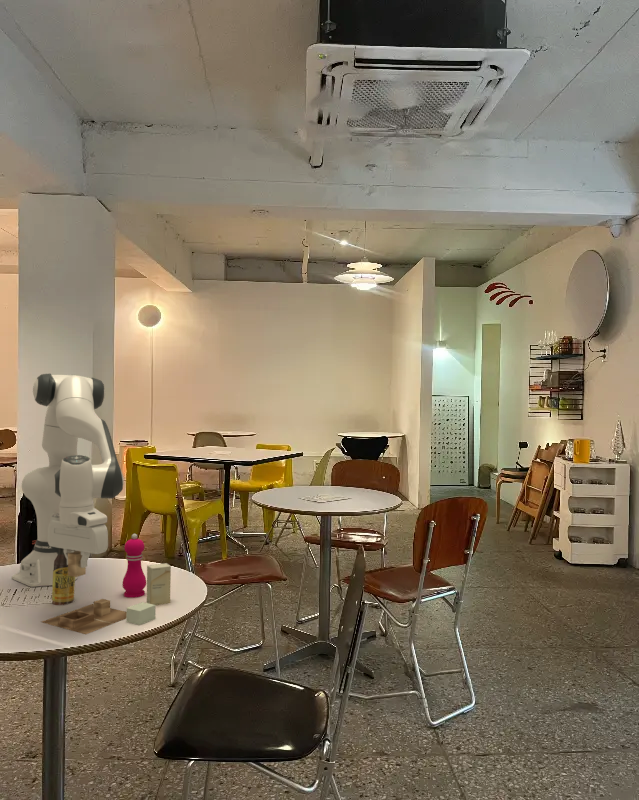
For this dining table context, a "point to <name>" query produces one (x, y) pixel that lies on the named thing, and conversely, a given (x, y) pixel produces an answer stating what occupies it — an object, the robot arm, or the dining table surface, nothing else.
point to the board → (88, 617)
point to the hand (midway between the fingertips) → (77, 566)
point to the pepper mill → (134, 569)
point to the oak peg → (75, 564)
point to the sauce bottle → (62, 581)
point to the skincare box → (158, 584)
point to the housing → (140, 613)
